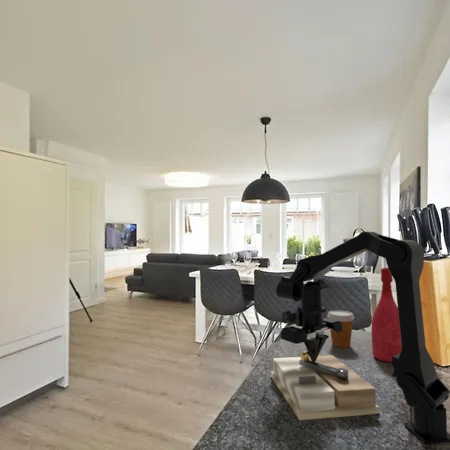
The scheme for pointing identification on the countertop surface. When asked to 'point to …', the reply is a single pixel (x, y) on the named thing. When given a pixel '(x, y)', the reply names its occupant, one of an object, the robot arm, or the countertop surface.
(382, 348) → the wine bottle
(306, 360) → the latch bar
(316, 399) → the door and jamb
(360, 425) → the countertop surface
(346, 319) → the disposable coffee cup
